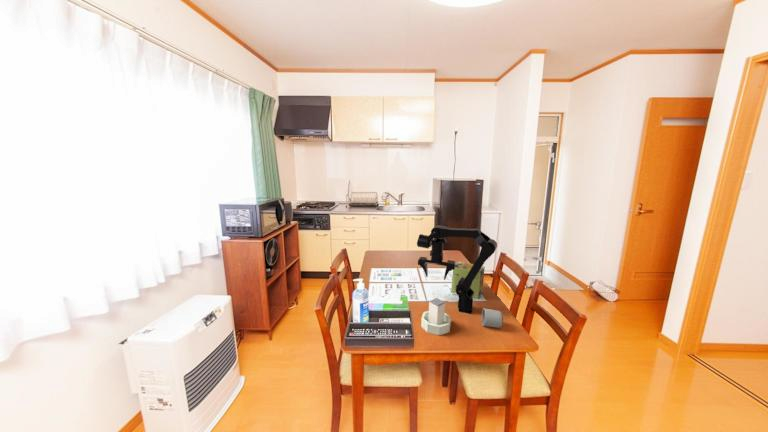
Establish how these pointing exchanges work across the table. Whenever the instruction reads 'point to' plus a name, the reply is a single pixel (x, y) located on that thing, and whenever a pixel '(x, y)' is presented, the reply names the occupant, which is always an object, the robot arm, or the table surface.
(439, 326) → the sage bowl
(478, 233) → the robot arm
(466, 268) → the protein box
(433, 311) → the pebble canister
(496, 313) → the ceramic mug
